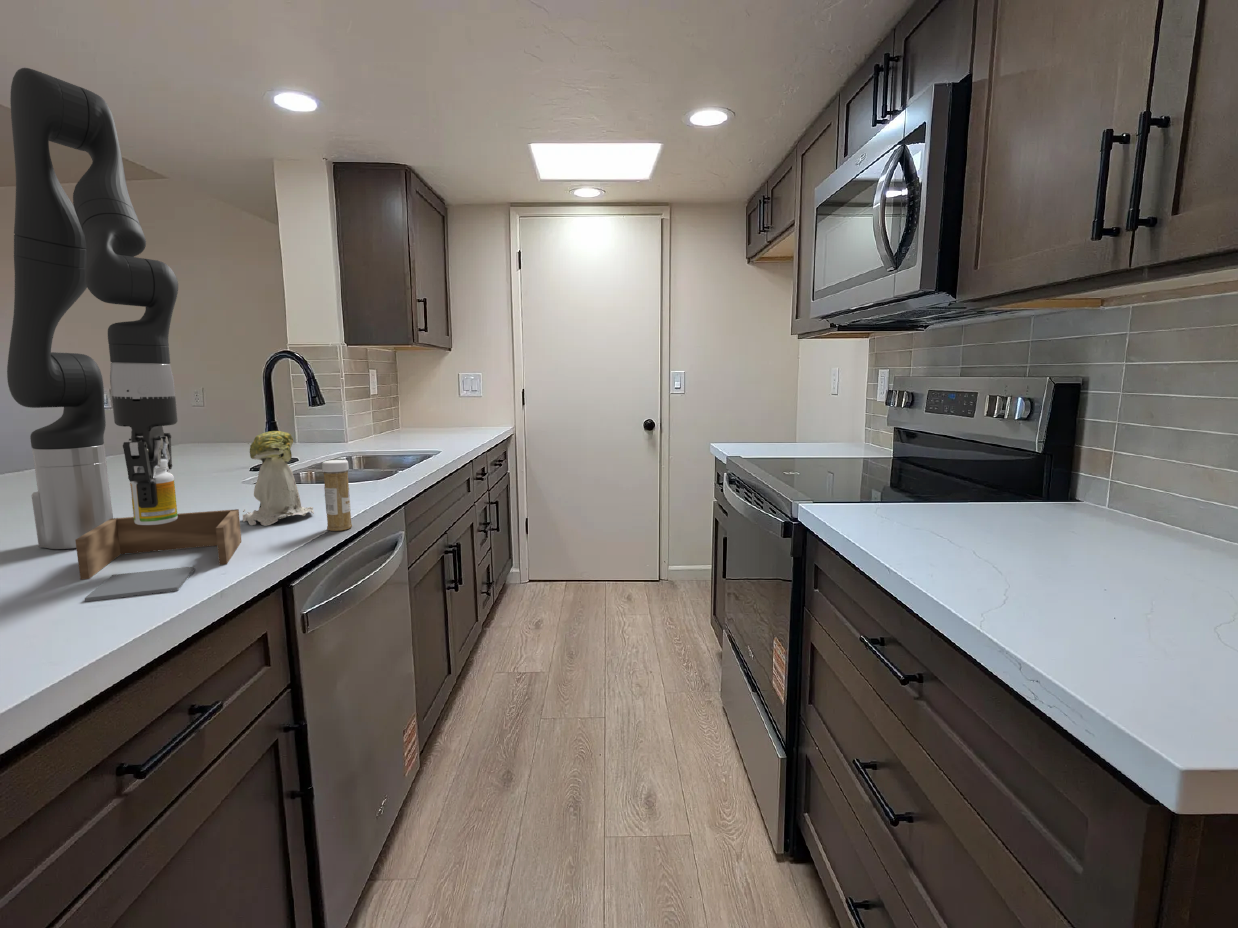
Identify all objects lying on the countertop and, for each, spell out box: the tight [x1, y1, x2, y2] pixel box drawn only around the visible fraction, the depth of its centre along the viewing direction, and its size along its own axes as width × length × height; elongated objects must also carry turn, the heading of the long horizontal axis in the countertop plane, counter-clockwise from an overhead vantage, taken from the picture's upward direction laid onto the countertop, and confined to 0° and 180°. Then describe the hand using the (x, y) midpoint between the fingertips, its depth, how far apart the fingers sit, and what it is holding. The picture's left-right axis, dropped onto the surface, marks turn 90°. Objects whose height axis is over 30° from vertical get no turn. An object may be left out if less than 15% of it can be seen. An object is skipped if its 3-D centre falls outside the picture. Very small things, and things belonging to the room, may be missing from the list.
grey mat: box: [84, 565, 196, 602], centre depth 84 cm, size 10×10×1 cm
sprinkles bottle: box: [321, 459, 353, 532], centre depth 114 cm, size 5×5×13 cm
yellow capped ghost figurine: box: [242, 430, 315, 527], centre depth 122 cm, size 12×13×18 cm
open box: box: [75, 508, 242, 580], centre depth 95 cm, size 14×18×6 cm
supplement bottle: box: [129, 459, 179, 525], centre depth 91 cm, size 5×5×10 cm
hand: (154, 502), depth 91 cm, fingers closed on supplement bottle, 5 cm apart
